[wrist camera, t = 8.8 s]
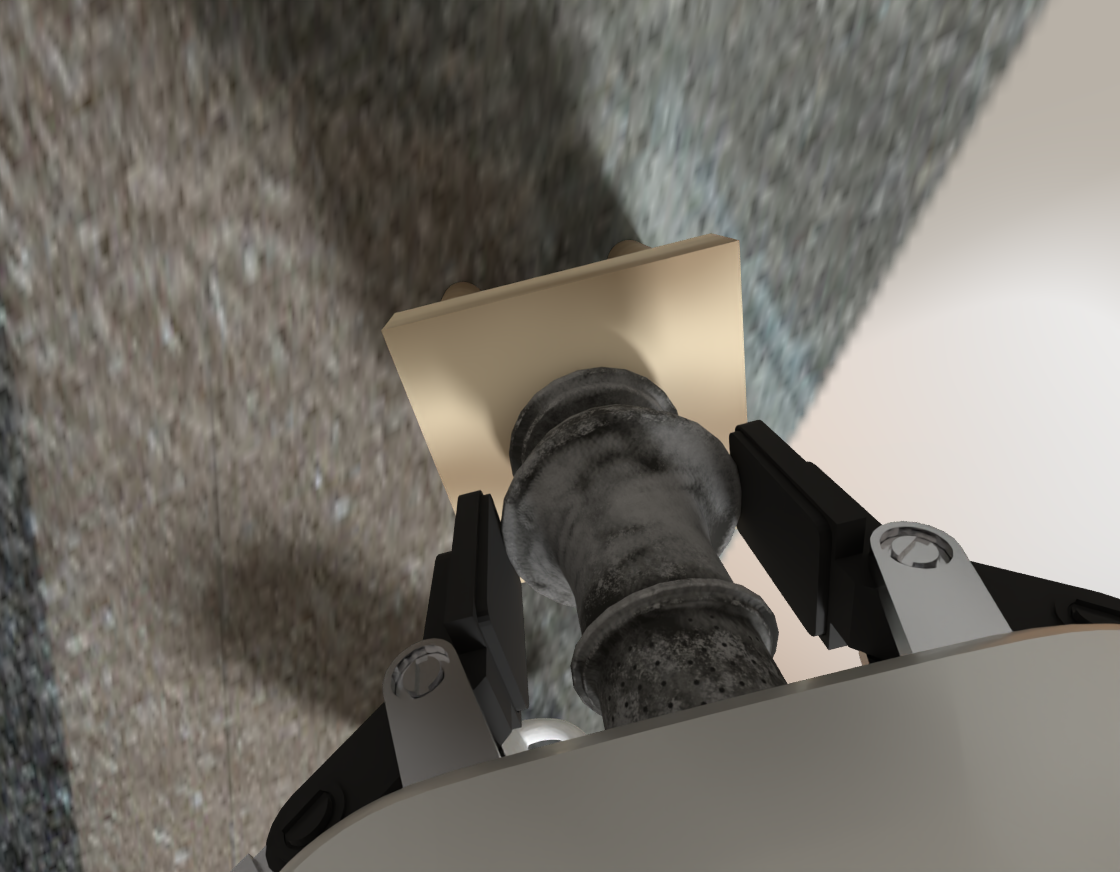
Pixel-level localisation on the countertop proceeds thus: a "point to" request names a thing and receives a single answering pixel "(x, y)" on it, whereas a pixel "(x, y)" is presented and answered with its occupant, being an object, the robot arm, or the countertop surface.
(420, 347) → the stool
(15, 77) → the countertop surface
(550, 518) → the salt shaker
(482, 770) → the robot arm
